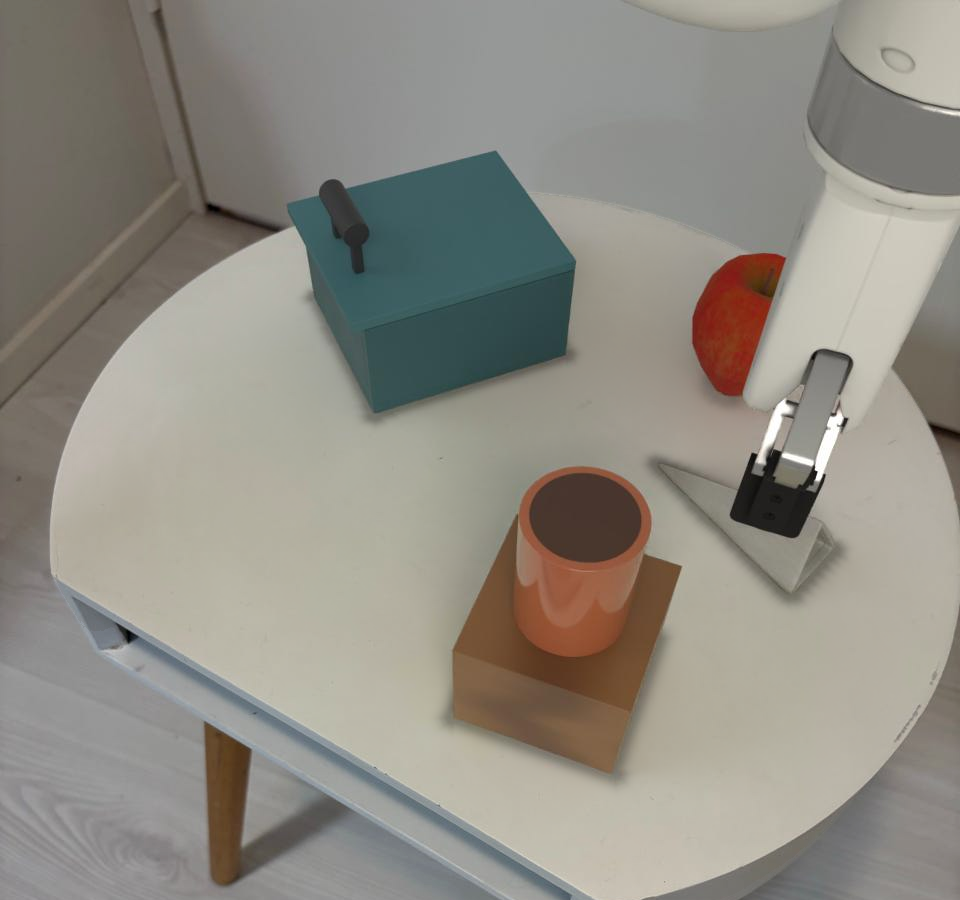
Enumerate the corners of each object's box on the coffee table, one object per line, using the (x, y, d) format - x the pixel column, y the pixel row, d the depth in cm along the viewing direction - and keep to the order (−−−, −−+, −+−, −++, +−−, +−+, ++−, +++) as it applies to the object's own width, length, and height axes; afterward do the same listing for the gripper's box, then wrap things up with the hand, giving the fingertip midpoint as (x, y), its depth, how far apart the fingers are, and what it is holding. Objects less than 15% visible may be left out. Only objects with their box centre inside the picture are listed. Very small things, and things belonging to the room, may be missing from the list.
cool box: (373, 414, 73) (364, 331, 66) (313, 297, 79) (299, 210, 73) (565, 355, 76) (575, 270, 70) (493, 247, 83) (495, 160, 76)
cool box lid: (351, 334, 66) (344, 274, 62) (287, 212, 72) (277, 151, 68) (575, 269, 69) (582, 208, 65) (495, 159, 76) (497, 97, 72)
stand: (453, 717, 60) (451, 650, 53) (511, 589, 65) (516, 513, 58) (611, 774, 58) (630, 712, 52) (659, 638, 63) (682, 565, 56)
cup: (495, 634, 54) (499, 546, 47) (535, 545, 57) (544, 450, 50) (608, 673, 53) (629, 588, 46) (642, 580, 56) (667, 487, 49)
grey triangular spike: (614, 510, 68) (788, 587, 62) (646, 448, 68) (824, 519, 62) (640, 532, 73) (803, 605, 67) (670, 475, 73) (837, 543, 67)
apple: (733, 450, 71) (773, 333, 62) (651, 382, 75) (677, 261, 66) (813, 396, 74) (863, 276, 65) (730, 333, 78) (766, 210, 68)
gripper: (864, -42, 38) (753, 314, 53) (756, 228, 30) (660, 562, 44) (1068, -2, 37) (896, 353, 51) (1014, 294, 28) (828, 616, 43)
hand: (787, 449), depth 48 cm, fingers open, 9 cm apart
